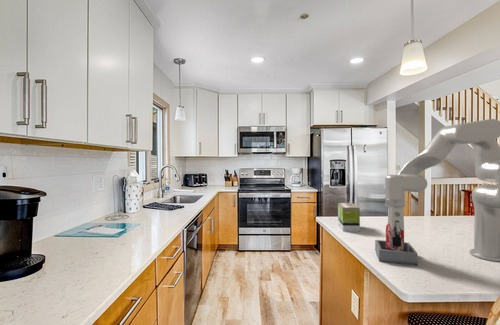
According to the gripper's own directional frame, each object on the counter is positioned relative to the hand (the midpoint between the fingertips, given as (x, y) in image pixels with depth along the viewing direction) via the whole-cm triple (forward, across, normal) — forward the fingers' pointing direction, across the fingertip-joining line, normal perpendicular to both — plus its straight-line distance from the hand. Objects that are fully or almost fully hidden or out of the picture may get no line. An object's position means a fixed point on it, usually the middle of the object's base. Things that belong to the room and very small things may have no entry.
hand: (394, 242), depth 114 cm
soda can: (+3, 0, 0) cm, 3 cm away
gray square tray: (+6, 0, 0) cm, 6 cm away
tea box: (+7, +44, +18) cm, 48 cm away
